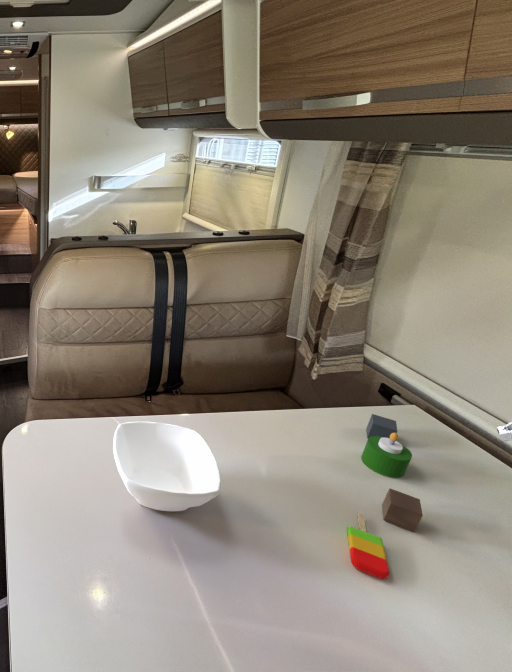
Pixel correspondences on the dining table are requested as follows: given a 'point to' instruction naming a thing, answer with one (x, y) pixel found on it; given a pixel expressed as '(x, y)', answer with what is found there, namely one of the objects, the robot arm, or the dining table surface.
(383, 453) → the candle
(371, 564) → the popsicle
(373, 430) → the slate block
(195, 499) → the bowl
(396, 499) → the walnut block
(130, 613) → the dining table surface
